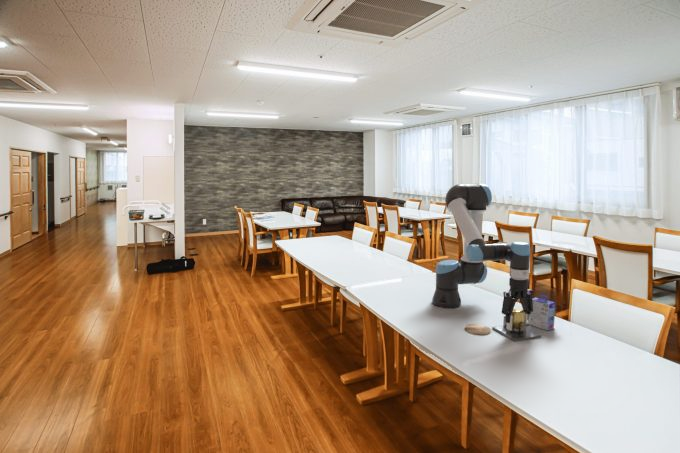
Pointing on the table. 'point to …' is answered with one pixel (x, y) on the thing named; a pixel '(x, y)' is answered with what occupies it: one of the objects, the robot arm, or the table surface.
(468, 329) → the coaster
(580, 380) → the table surface
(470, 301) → the table surface
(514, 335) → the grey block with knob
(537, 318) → the ink cartridge box
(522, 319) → the bell
